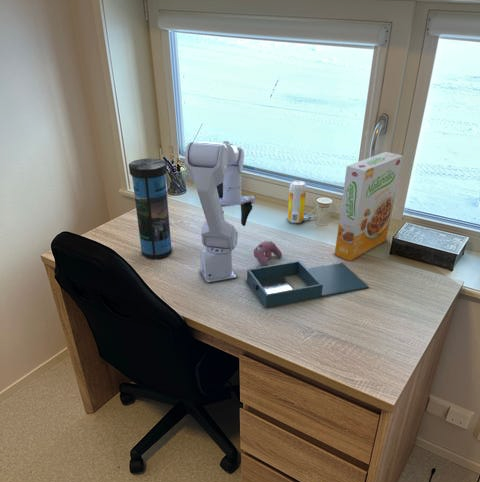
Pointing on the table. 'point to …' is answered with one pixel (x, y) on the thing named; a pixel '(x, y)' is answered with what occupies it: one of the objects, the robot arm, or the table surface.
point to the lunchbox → (317, 279)
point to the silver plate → (275, 285)
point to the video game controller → (266, 252)
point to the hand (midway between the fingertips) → (232, 226)
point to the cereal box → (367, 204)
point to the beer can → (296, 201)
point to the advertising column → (152, 207)
